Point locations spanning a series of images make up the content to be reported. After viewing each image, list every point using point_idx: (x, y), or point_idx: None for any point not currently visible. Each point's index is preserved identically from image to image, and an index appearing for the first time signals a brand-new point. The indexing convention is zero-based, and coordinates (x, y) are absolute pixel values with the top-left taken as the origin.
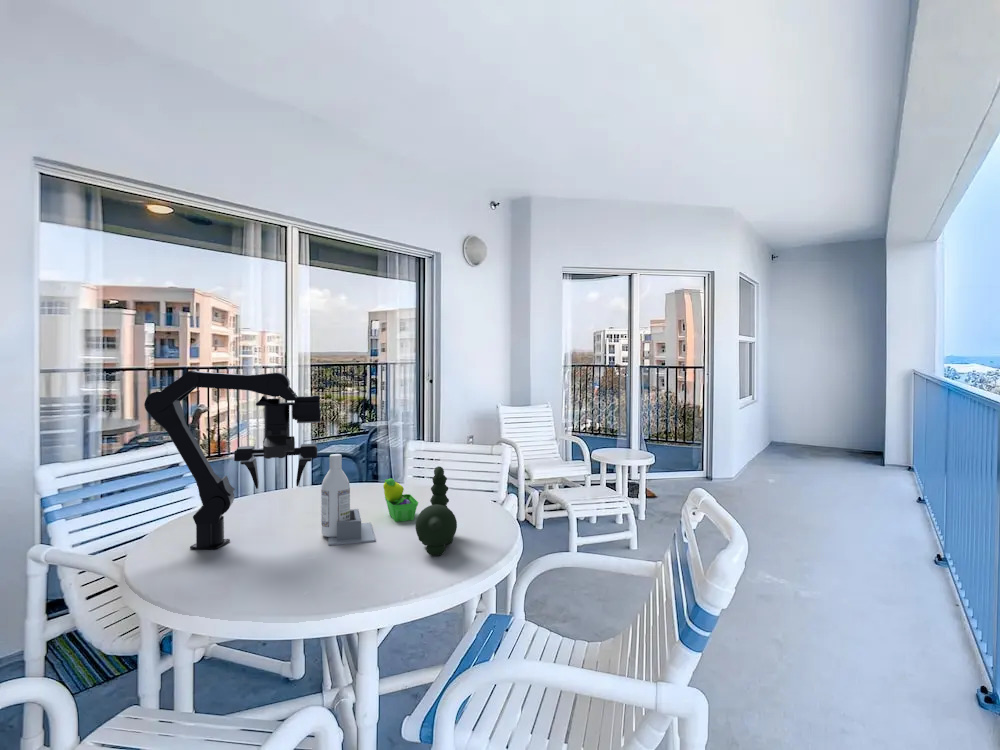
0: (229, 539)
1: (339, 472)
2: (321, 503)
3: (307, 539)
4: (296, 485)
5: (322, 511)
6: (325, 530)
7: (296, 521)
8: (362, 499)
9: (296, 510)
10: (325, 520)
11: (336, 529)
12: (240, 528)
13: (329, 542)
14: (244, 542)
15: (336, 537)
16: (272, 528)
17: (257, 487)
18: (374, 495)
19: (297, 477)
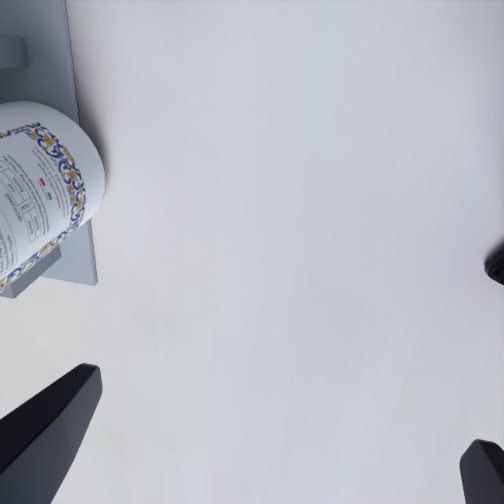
0: (490, 269)
1: None
2: (2, 232)
3: (170, 156)
4: (92, 370)
5: (26, 193)
6: (70, 136)
7: (209, 387)
8: None
9: (206, 474)
10: (36, 148)
11: (8, 105)
12: (398, 396)
13: (57, 20)
14: (431, 231)
15: (36, 100)
16: (294, 353)
17: (488, 448)
18: None
19: (18, 443)
